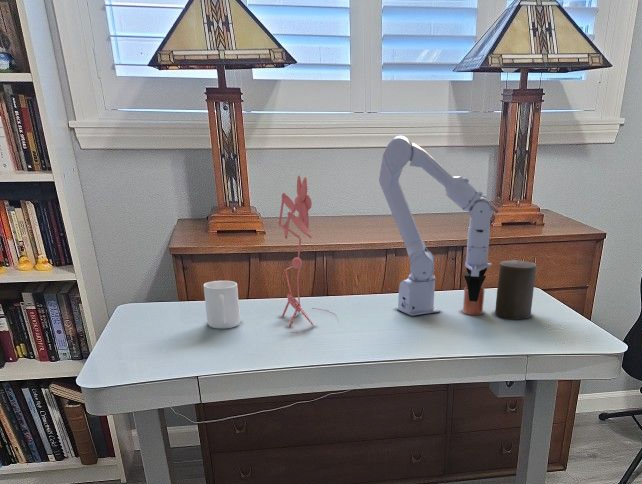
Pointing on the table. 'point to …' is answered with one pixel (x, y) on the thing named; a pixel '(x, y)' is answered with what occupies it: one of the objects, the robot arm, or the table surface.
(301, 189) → the pink stick figure
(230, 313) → the cup
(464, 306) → the terracotta pipe segment
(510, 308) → the pillar candle
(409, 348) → the table surface
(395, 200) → the robot arm
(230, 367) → the table surface
